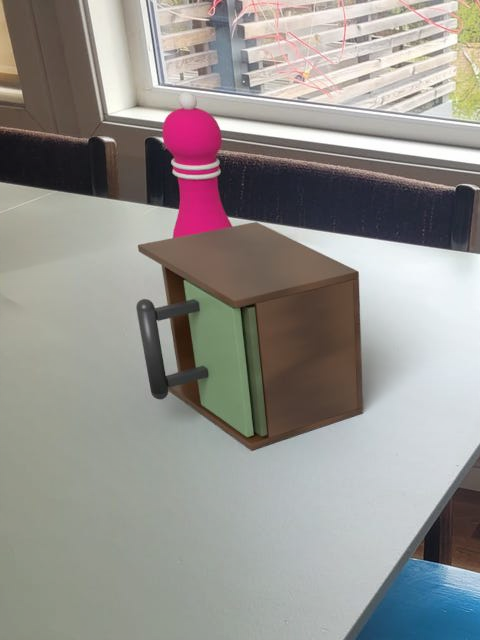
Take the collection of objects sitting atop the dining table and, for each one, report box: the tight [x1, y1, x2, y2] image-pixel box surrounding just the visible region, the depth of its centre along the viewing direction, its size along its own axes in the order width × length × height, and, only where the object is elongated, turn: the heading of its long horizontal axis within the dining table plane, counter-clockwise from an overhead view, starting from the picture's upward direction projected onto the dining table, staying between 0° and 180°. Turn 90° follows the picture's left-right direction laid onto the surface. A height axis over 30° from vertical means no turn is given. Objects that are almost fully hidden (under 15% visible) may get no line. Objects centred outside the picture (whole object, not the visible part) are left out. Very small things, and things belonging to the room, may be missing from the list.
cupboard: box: [137, 221, 364, 451], centre depth 89 cm, size 12×16×13 cm
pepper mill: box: [162, 90, 234, 238], centre depth 108 cm, size 7×7×20 cm
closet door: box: [135, 280, 254, 437], centre depth 83 cm, size 6×8×11 cm
